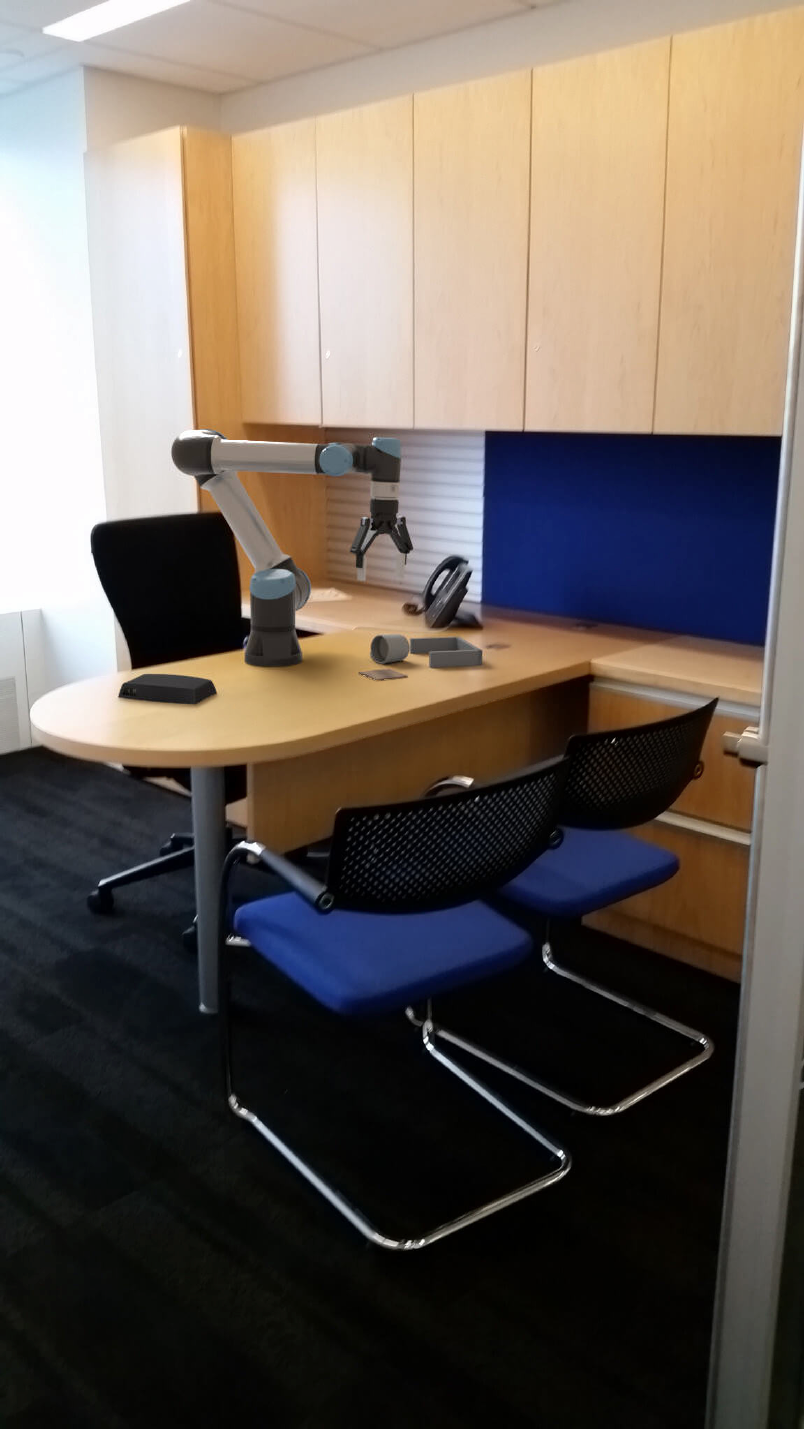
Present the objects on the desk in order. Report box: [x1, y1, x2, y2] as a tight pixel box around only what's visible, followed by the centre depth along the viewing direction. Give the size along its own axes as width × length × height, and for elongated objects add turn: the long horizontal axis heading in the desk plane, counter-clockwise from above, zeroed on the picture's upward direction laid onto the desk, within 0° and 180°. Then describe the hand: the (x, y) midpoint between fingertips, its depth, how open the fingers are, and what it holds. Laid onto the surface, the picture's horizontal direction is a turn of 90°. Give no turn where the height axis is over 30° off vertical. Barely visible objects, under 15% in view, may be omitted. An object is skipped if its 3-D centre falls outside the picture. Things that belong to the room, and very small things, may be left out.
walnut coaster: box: [358, 668, 408, 681], centre depth 288 cm, size 9×9×1 cm
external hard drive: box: [117, 673, 218, 706], centre depth 264 cm, size 13×19×4 cm
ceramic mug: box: [369, 633, 410, 665], centre depth 304 cm, size 11×8×8 cm
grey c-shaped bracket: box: [409, 636, 483, 668], centre depth 308 cm, size 14×19×4 cm
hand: (380, 578), depth 305 cm, fingers open, 13 cm apart
